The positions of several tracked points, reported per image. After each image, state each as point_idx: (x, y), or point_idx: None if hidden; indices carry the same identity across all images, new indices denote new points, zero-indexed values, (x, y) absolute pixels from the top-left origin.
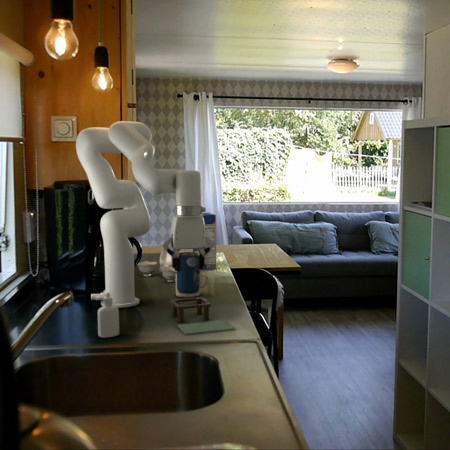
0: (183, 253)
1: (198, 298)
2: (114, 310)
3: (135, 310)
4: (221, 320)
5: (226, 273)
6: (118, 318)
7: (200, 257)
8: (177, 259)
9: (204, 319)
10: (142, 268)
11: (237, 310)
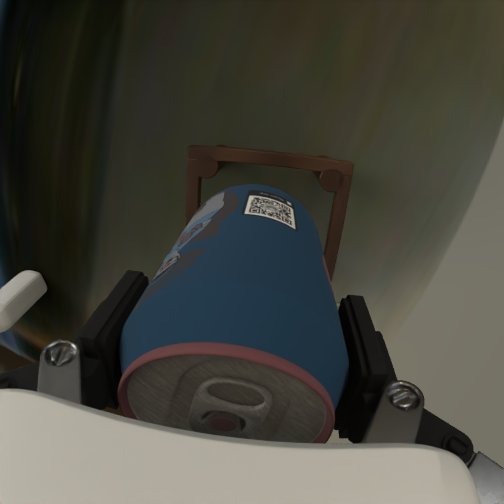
0: (184, 351)
1: (326, 183)
2: (7, 329)
3: (114, 13)
4: (338, 306)
5: None
6: (25, 311)
7: (335, 427)
8: (117, 400)
9: None
10: None
11: (460, 193)
